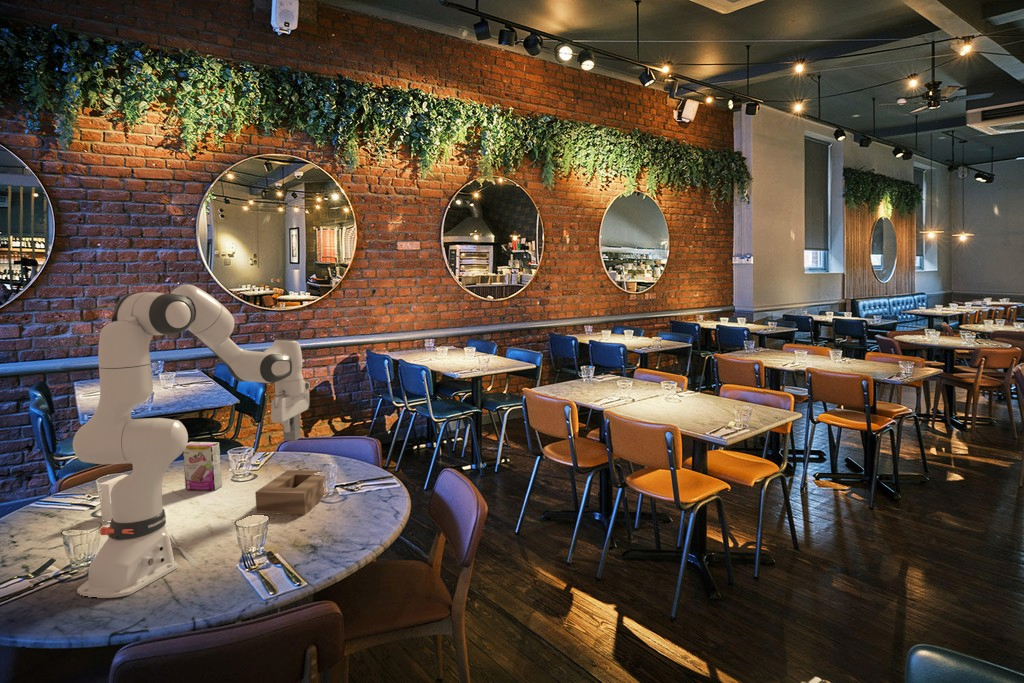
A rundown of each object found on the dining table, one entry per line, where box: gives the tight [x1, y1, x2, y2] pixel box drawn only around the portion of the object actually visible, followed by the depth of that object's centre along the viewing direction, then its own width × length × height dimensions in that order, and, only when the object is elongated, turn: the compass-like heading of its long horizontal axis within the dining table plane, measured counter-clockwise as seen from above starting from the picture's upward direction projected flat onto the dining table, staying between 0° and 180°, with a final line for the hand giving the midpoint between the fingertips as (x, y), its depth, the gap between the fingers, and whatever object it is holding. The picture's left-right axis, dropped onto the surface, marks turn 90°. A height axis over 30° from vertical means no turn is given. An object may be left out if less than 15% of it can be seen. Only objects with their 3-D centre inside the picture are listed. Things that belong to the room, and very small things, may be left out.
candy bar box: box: [182, 441, 223, 492], centre depth 219 cm, size 11×5×16 cm, turn 84°
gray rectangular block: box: [282, 413, 302, 442], centre depth 203 cm, size 4×4×8 cm
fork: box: [169, 534, 197, 565], centre depth 169 cm, size 3×24×2 cm, turn 46°
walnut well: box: [255, 469, 325, 515], centre depth 205 cm, size 22×16×7 cm
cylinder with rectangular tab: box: [99, 474, 129, 522], centre depth 195 cm, size 9×9×12 cm
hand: (291, 429), depth 203 cm, fingers closed on gray rectangular block, 4 cm apart
